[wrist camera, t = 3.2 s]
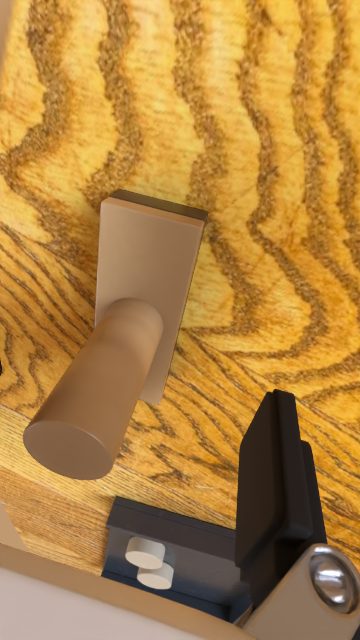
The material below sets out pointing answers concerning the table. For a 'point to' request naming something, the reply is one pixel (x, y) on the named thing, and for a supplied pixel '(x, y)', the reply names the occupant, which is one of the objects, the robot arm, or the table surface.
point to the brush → (121, 334)
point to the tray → (179, 558)
